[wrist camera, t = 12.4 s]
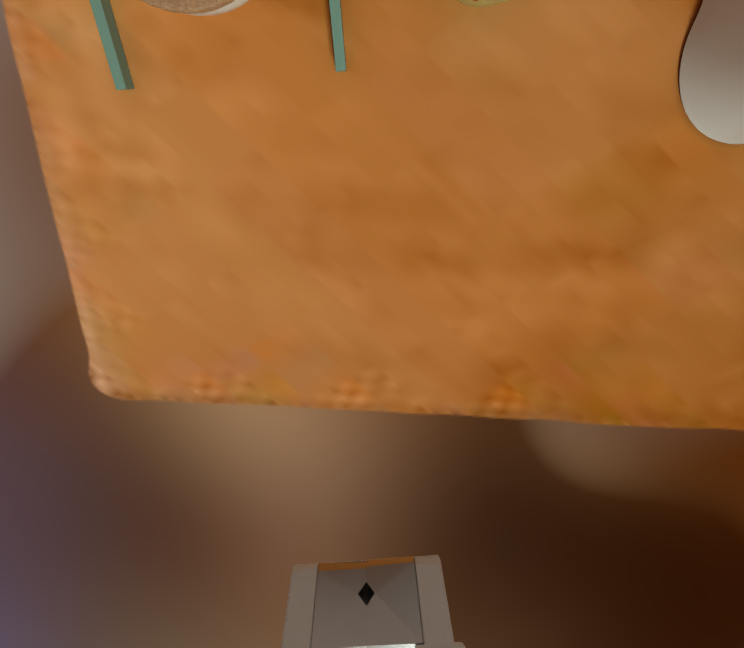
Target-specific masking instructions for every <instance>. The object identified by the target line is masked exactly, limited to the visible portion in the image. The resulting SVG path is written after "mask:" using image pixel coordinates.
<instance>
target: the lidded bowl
mask: <svg viewBox="0 0 744 648" xmlns="http://www.w3.org/2000/svg"><path fill="white" fill-rule="evenodd" d="M141 1H143V2H145V3H147V4H149V5H151V6H154V7H157V8H160V9H163V10H167V11H170V12H176V13H183V14H189V15H196V16H205V15H218V14H222V13H226V12H230V11H232V10H234V9H236V8H238V7H240V6H242V5H244V4H245V3H246V2H248V1H249V0H141Z"/></svg>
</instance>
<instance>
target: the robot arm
mask: <svg viewBox="0 0 744 648" xmlns="http://www.w3.org/2000/svg"><path fill="white" fill-rule="evenodd" d="M679 83H680V94H681V99H682V103H683V106H684V109H685V111H686V114H687V115H688V117H689V119H690V120H691V122H692V123H693V125H694V126H695V127H696V128H697V129H698V130H699V131H700V132H702V133H703V134H704V135H706V136H708V137H709V138H711V139H714V140H716V141H719V142H723V143H729V144H744V0H703V2H702V5H701V8H700V10H699V13H698V15H697V17H696V19H695V21H694V24H693V26H692V28H691V30H690V33H689V35H688V38H687V41H686V44H685V47H684V51H683V55H682V59H681V66H680V79H679ZM281 648H466V647H465V646H464V645H463V643H462V642H454V639H453V633H452V627H451V621H450V615H449V609H448V603H447V597H446V591H445V585H444V579H443V573H442V567H441V561H440V559H439V556H438V555H431V556H420V557H415V558H414V557H413V556H409V557H398V558H386V559H374V560H367V561H353V562H335V563H312V564H298V565H295V566H294V569H293V572H292V576H291V584H290V590H289V597H288V604H287V611H286V618H285V625H284V632H283V638H282V645H281Z"/></svg>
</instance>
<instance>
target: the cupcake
mask: <svg viewBox="0 0 744 648" xmlns="http://www.w3.org/2000/svg"><path fill="white" fill-rule="evenodd" d="M458 1H459V2H461V3H463V4H466V5H469V6H474V7H483V6H490V5H494V4H498V3H501V2H504V1H508V0H458Z"/></svg>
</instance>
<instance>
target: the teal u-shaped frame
mask: <svg viewBox="0 0 744 648" xmlns="http://www.w3.org/2000/svg"><path fill="white" fill-rule="evenodd" d="M90 4H91V7H92V10H93V14H94V17H95V20H96V24H97V27H98V30H99V34H100V37H101V40H102V44H103V47H104V50H105V53H106V57H107V60H108V63H109V67H110V70H111V73H112V77H113V80H114V83H115V87H116V90H128V89H134V85H133V82H132V78H131V75H130V71H129V68H128V64H127V61H126V57H125V54H124V50H123V47H122V43H121V40H120V36H119V33H118V29H117V26H116V22H115V18H114V15H113V11H112V8H111V4H110V1H109V0H90ZM329 4H330V15H331V25H332V35H333V46H334V56H335V66H336V72H340V71H347V70H346V59H345V48H344V36H343V25H342V14H341V2H340V0H329Z"/></svg>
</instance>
